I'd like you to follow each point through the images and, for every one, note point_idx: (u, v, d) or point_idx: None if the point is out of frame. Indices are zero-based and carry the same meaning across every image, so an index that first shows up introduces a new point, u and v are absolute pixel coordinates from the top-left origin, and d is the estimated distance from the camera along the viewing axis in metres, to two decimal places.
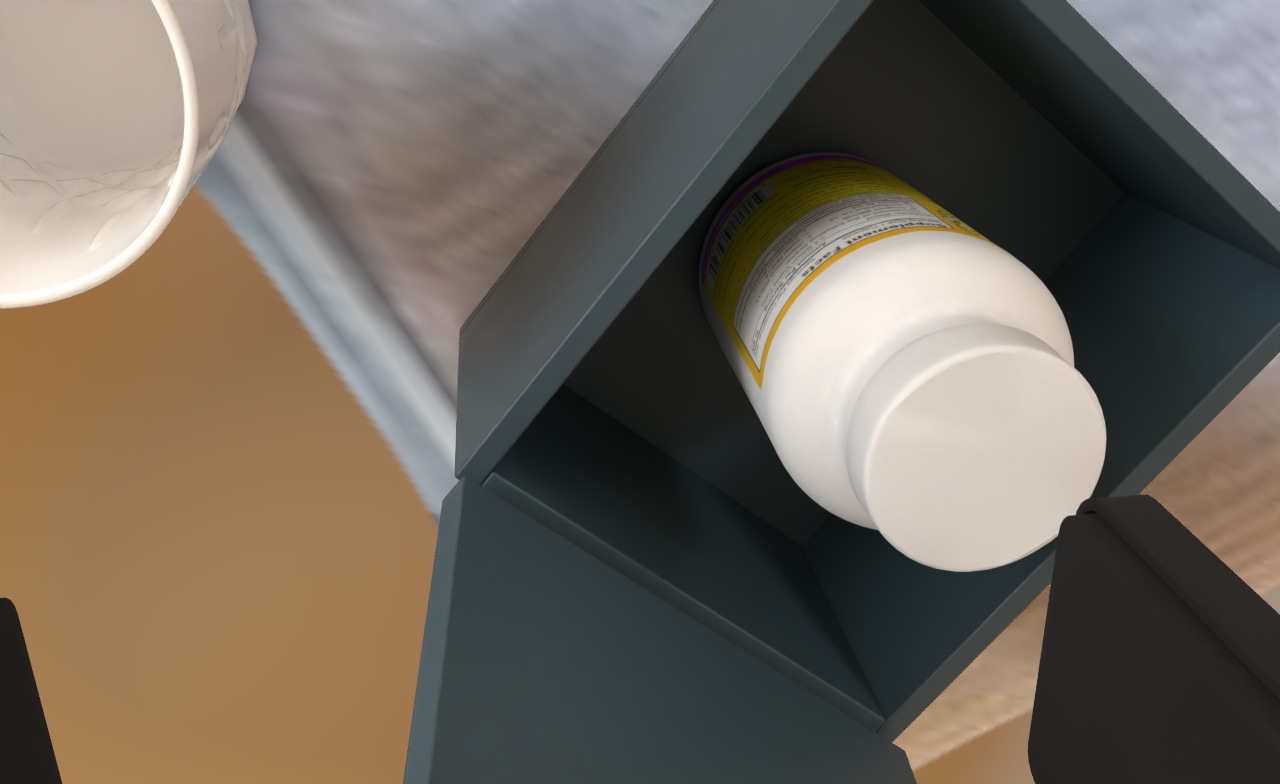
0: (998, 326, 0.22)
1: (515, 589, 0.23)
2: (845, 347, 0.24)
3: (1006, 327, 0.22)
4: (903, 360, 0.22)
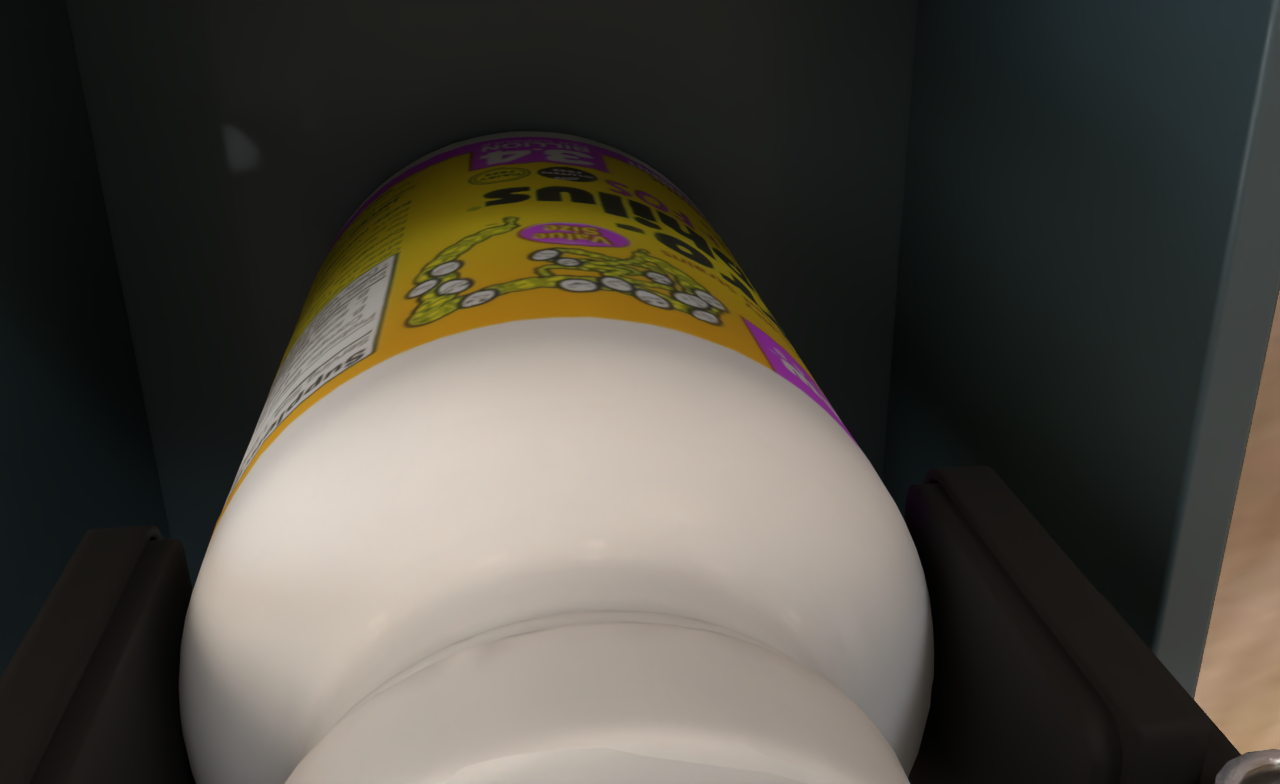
0: (392, 695, 0.07)
1: None
2: None
3: (428, 666, 0.07)
4: None
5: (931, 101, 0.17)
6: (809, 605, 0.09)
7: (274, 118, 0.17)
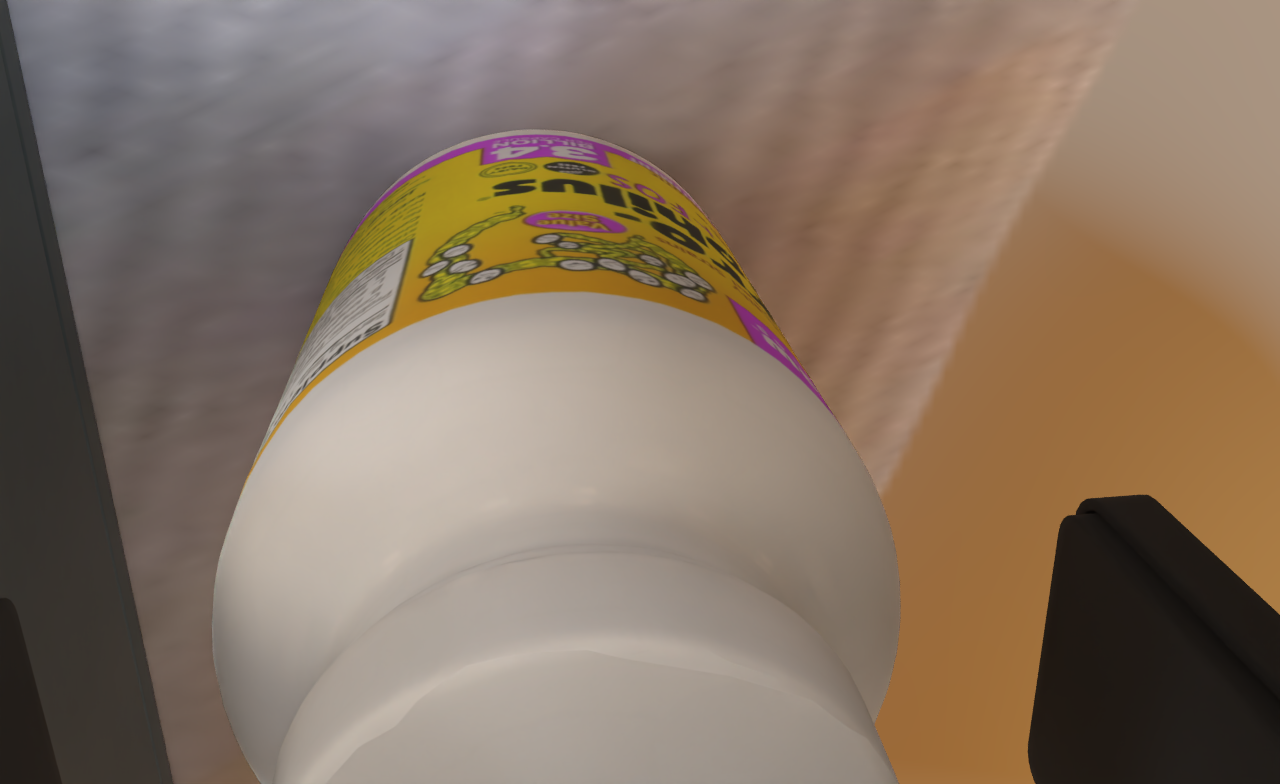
0: (404, 613, 0.08)
1: None
2: None
3: (436, 591, 0.08)
4: None
5: None
6: (782, 552, 0.10)
7: None
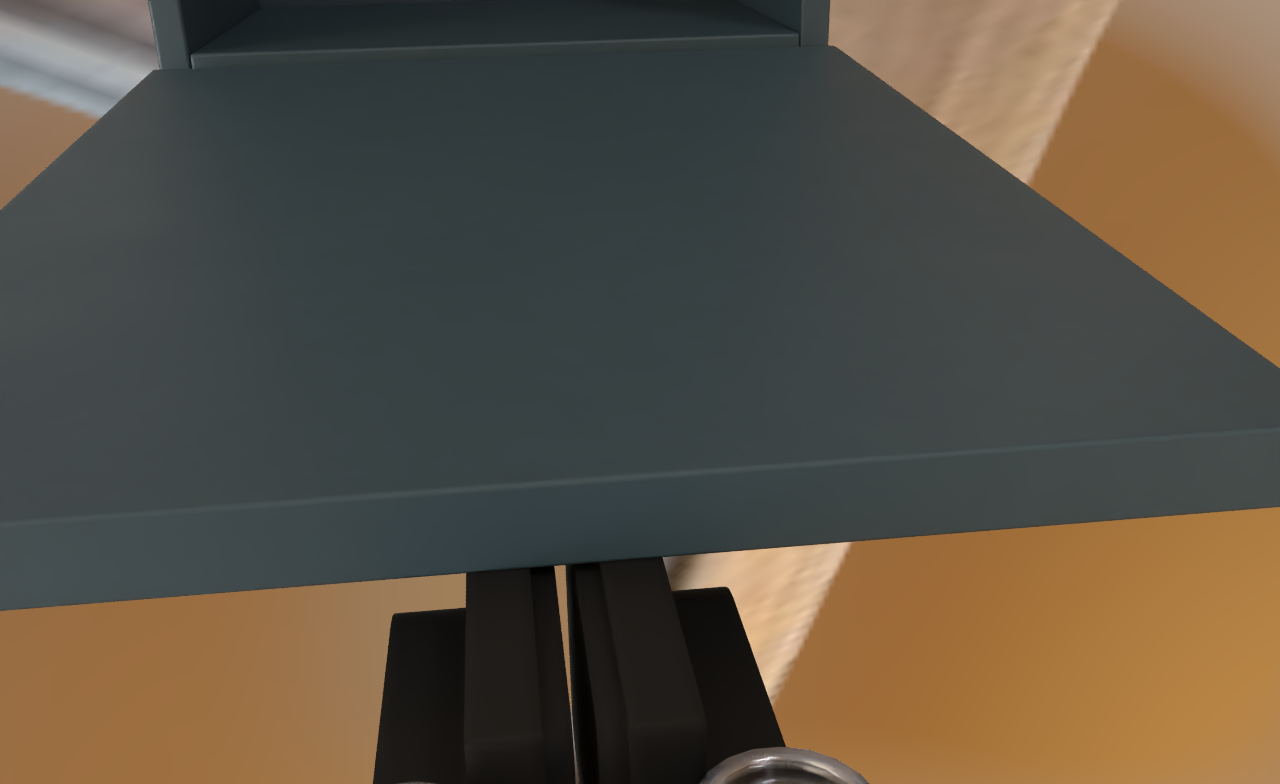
0: None
1: (199, 102, 0.20)
2: None
3: None
4: None
5: None
6: None
7: None
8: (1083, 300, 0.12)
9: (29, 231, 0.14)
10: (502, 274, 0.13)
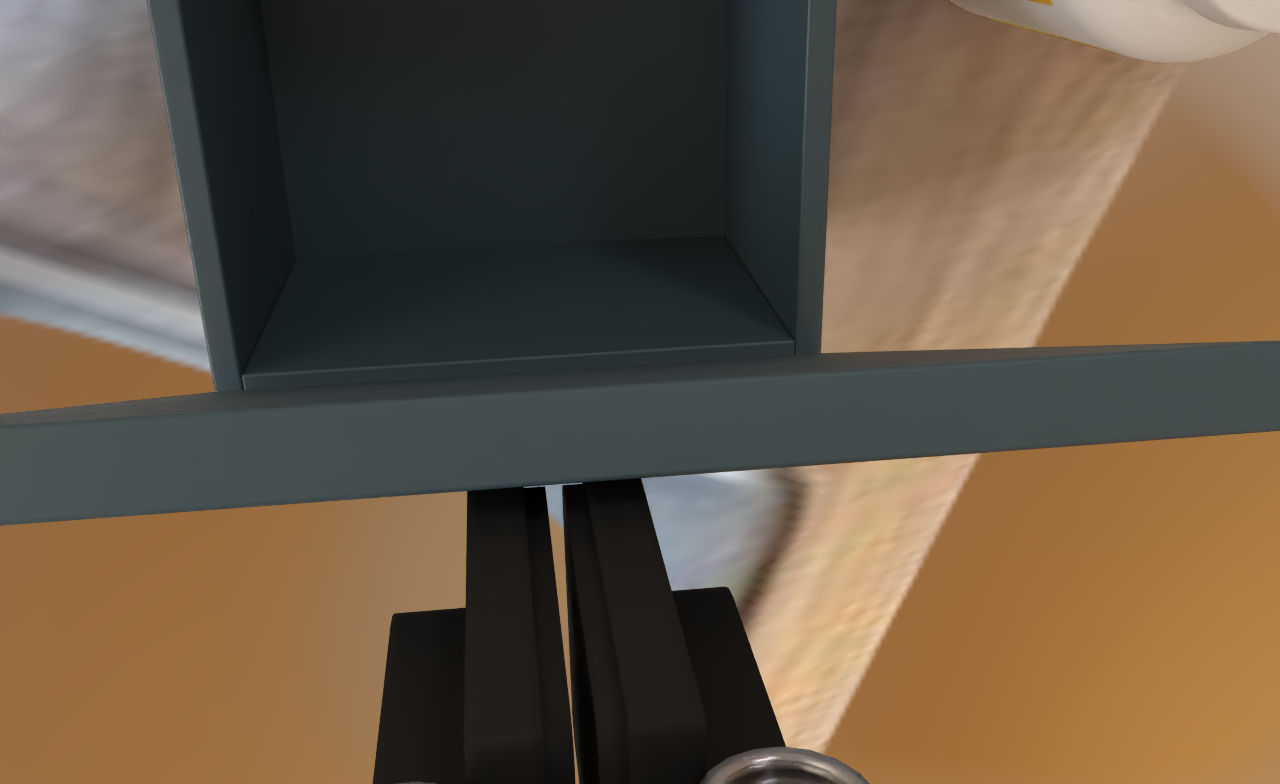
0: None
1: (249, 391, 0.22)
2: None
3: None
4: None
5: None
6: None
7: None
8: (1043, 350, 0.13)
9: (90, 407, 0.16)
10: (512, 381, 0.14)
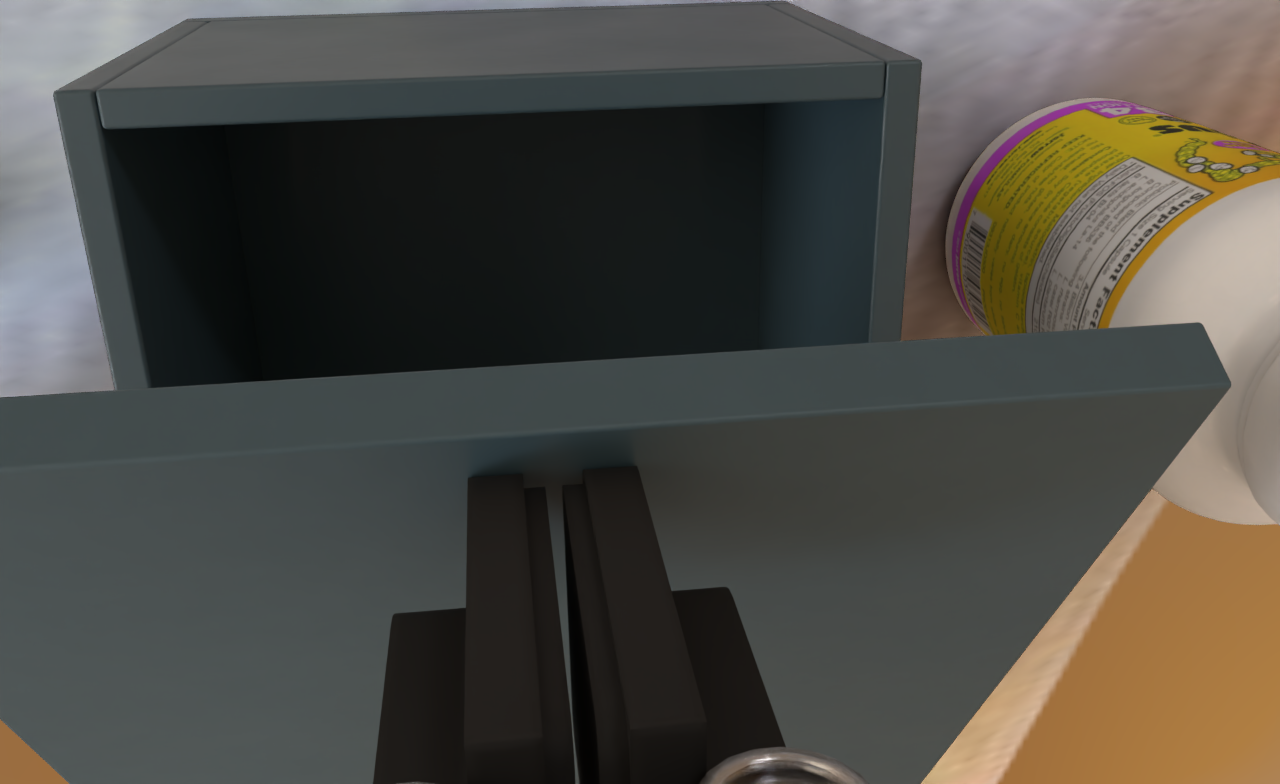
0: None
1: None
2: None
3: None
4: (1264, 404, 0.19)
5: (770, 196, 0.27)
6: None
7: (353, 208, 0.27)
8: None
9: None
10: None
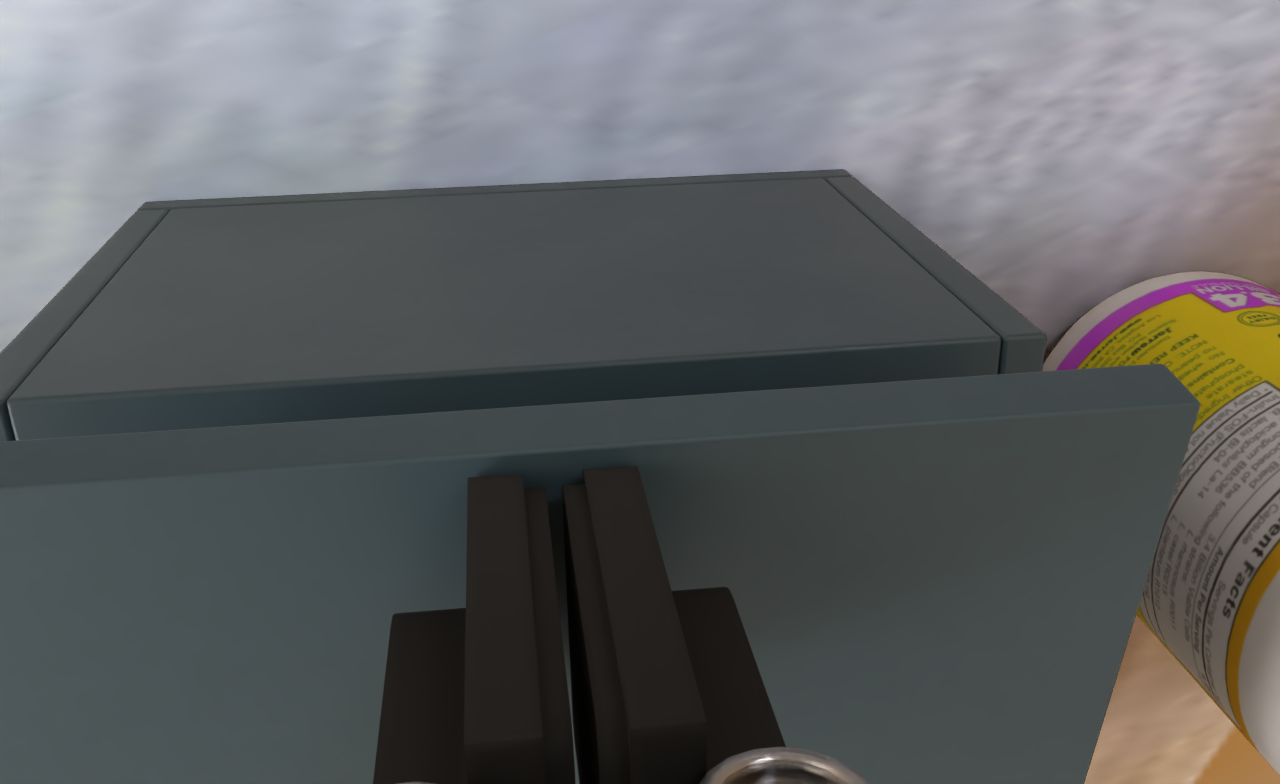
0: None
1: None
2: None
3: None
4: None
5: None
6: None
7: None
8: None
9: None
10: None
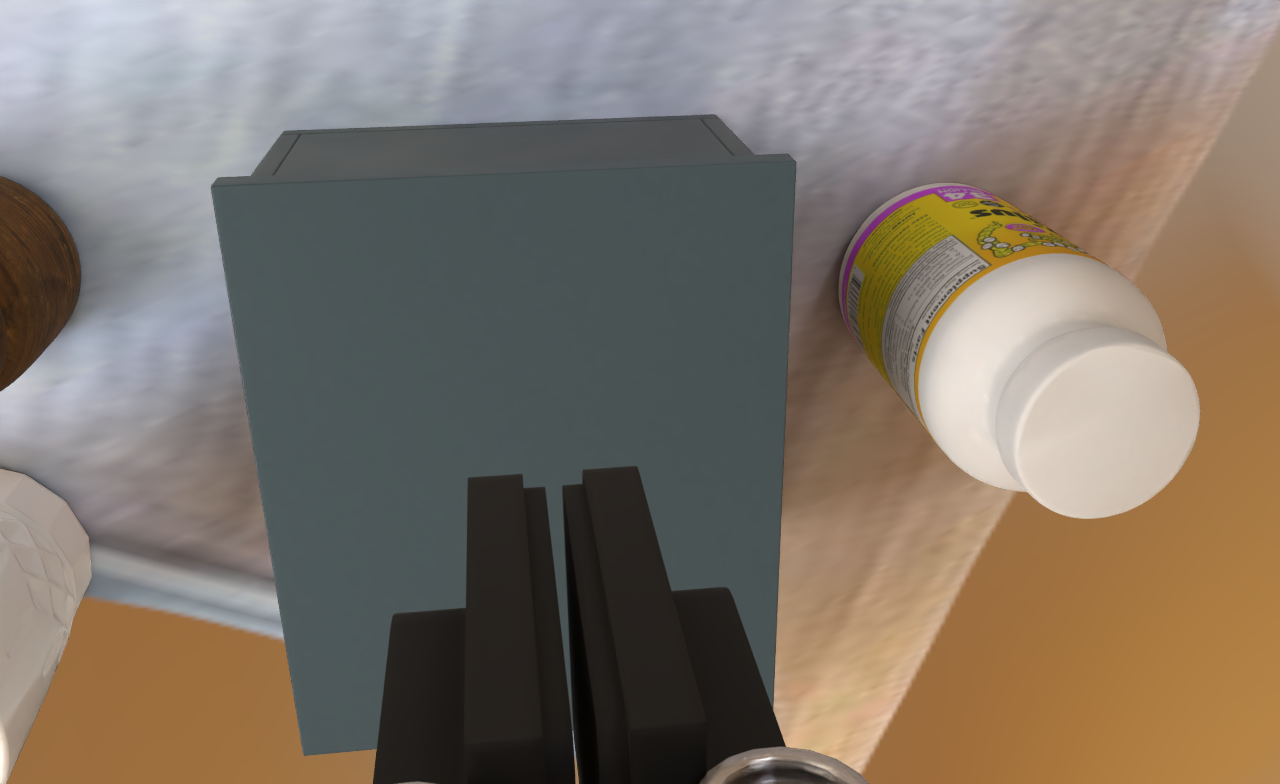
0: (1053, 344, 0.29)
1: None
2: (968, 405, 0.31)
3: (1060, 338, 0.29)
4: (1006, 408, 0.29)
5: None
6: None
7: None
8: None
9: None
10: None
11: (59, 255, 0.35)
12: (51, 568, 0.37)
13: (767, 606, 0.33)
